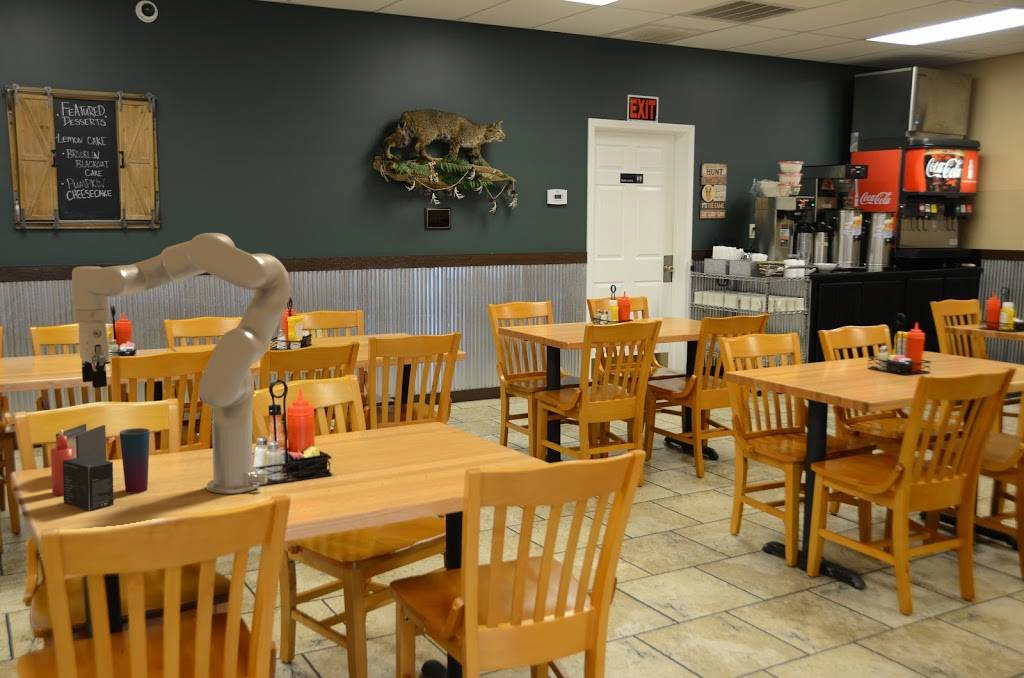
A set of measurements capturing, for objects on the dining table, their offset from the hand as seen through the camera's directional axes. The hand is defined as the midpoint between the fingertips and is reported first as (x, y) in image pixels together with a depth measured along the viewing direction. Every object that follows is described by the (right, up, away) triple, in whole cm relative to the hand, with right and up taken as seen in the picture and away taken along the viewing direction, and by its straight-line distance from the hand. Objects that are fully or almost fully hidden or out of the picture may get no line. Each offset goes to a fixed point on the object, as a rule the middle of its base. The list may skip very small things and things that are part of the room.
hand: (94, 384), depth 221 cm
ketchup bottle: (-5, -26, -5) cm, 27 cm away
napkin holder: (-7, -24, +9) cm, 27 cm away
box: (+5, -28, -13) cm, 31 cm away
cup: (+11, -26, -2) cm, 29 cm away
